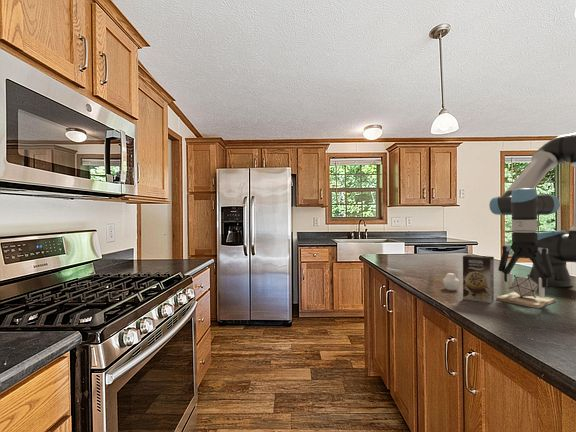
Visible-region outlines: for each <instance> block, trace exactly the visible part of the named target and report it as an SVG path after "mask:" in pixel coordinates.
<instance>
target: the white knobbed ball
mask: <svg viewBox="0 0 576 432" xmlns="http://www.w3.org/2000/svg"><path fill="white" fill-rule="evenodd" d="M442 283H443V285H444V287H445V288H446V290H448V291H456V290H457V288H458V286H459V283H460V280H459V279H458V277H456V273H452V272H448V273H446V275H445V277H444V278H443V279H442Z"/></svg>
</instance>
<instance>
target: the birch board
mask: <svg viewBox="0 0 576 432" xmlns="http://www.w3.org/2000/svg"><path fill="white" fill-rule="evenodd" d="M534 296H535V297H536V298H534ZM534 296H525V297H522V298H520V297H521V296H520V295H519V294H518V293H516V292H515V291H511V292H508V293H506V294H503V295H498V296H496V298H495V299H496V301H500V302H504V303H508V304H515V305H520V306H526V307H528V308H529V307H531V308H534V309H540V308H543V307H546V306H548V305H550V304H553V303H556V298H554V297H553V298H552V297H547V296H544V297H539V295H536V294H535V295H534Z"/></svg>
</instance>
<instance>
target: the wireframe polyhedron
mask: <svg viewBox="0 0 576 432" xmlns="http://www.w3.org/2000/svg"><path fill="white" fill-rule="evenodd" d="M529 274H530V273H529ZM529 274H527V275H526V276H516V275H515V274H514V275H513V277H514V278H513V279H514V280H513V284H512V287H509V289H511V288H512V289H513V292H516V293H518V294H519V295H520V296H521V297H520V298H522V297H525V296H534V295H536V292H537V290H538V289H539V284H537V283H536V282H535V281H533V280H532V279H531V278H530V277H529ZM534 298H536V297H535V296H534Z"/></svg>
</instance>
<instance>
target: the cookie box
mask: <svg viewBox="0 0 576 432" xmlns="http://www.w3.org/2000/svg"><path fill="white" fill-rule="evenodd" d="M494 261H495V257H494V256H488V255H487V256H486V255H475V254H474V255H473V254H466V255H465V254H464V255H463V256H462V299H463V300H467V301H474V302H480V303H485V304H486V303H487V304H492V302H493V301H494V300H495V294H494V293H495V292H494V291H495V290H494V289H495V285H494V281H495V279H494V278H495V277H494V275H495V273H494V272H495V271H494V270H495V269H494V268H495V267H494V266H495V263H494Z"/></svg>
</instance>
